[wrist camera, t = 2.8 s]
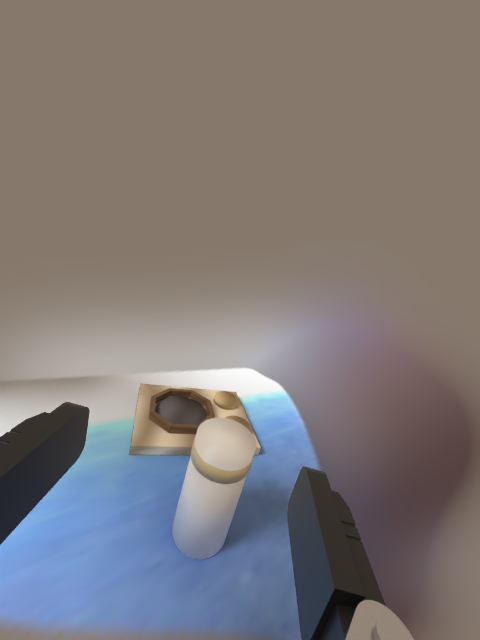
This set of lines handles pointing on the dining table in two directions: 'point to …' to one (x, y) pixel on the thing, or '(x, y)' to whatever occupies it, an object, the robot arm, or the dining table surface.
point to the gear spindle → (212, 486)
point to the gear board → (179, 417)
